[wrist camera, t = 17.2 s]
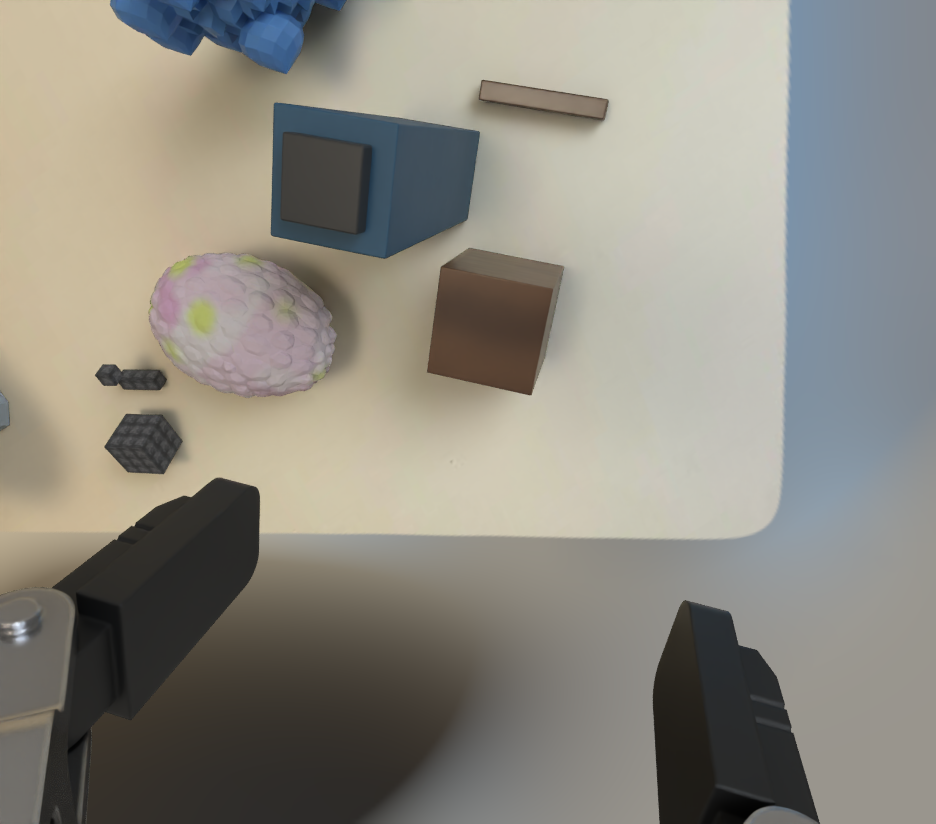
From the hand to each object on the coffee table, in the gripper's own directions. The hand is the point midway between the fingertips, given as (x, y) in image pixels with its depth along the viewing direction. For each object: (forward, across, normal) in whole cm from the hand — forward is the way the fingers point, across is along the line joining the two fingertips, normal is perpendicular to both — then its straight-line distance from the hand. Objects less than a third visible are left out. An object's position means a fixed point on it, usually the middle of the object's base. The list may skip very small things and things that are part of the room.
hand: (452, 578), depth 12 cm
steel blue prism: (+22, +9, -5) cm, 24 cm away
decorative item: (+30, +20, +6) cm, 37 cm away
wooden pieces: (+30, +3, -2) cm, 30 cm away
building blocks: (+30, +29, +16) cm, 45 cm away
